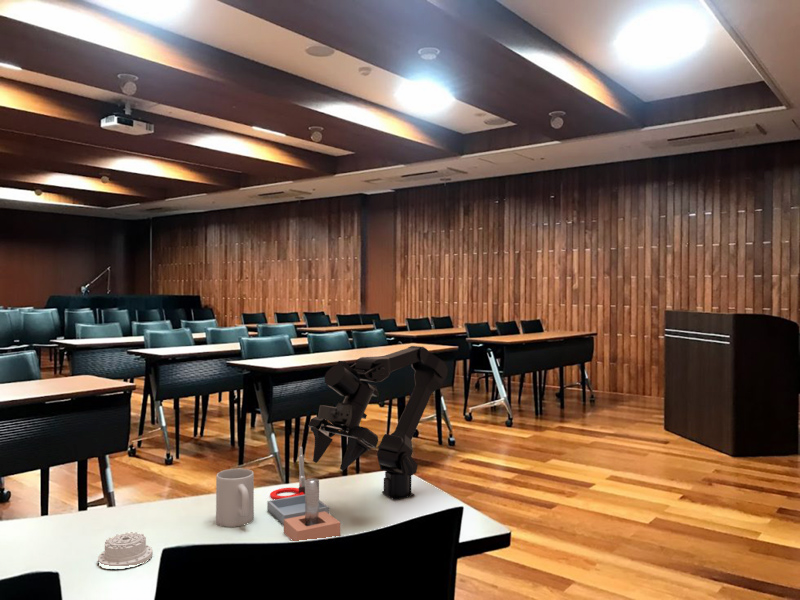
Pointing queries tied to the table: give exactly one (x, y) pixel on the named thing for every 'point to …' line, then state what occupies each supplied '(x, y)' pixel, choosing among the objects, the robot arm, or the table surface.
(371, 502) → the table surface
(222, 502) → the mug
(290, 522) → the block
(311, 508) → the pin
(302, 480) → the tow hook
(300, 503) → the tray
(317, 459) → the robot arm
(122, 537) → the mechanical component
